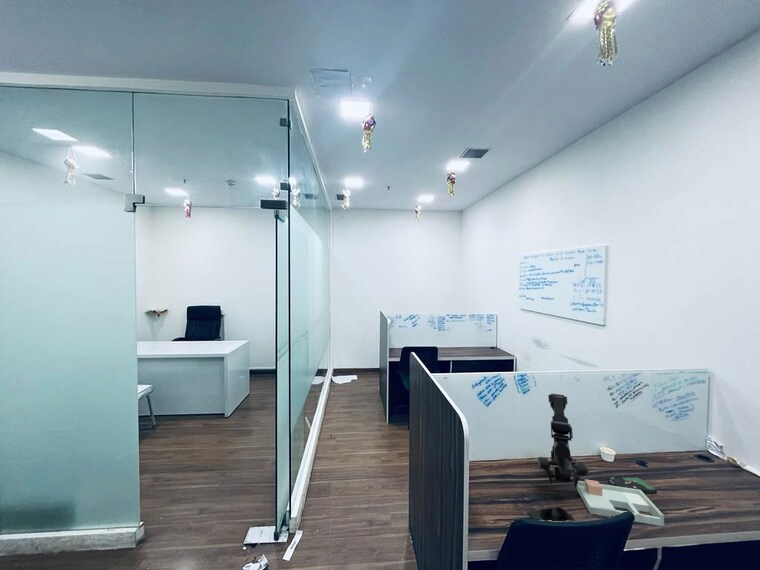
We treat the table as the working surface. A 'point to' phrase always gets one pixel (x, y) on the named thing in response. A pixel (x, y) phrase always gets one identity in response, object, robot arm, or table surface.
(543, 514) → the smartphone
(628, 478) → the disk drive
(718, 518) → the table surface
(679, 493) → the table surface
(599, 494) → the terracotta block
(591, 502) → the box
